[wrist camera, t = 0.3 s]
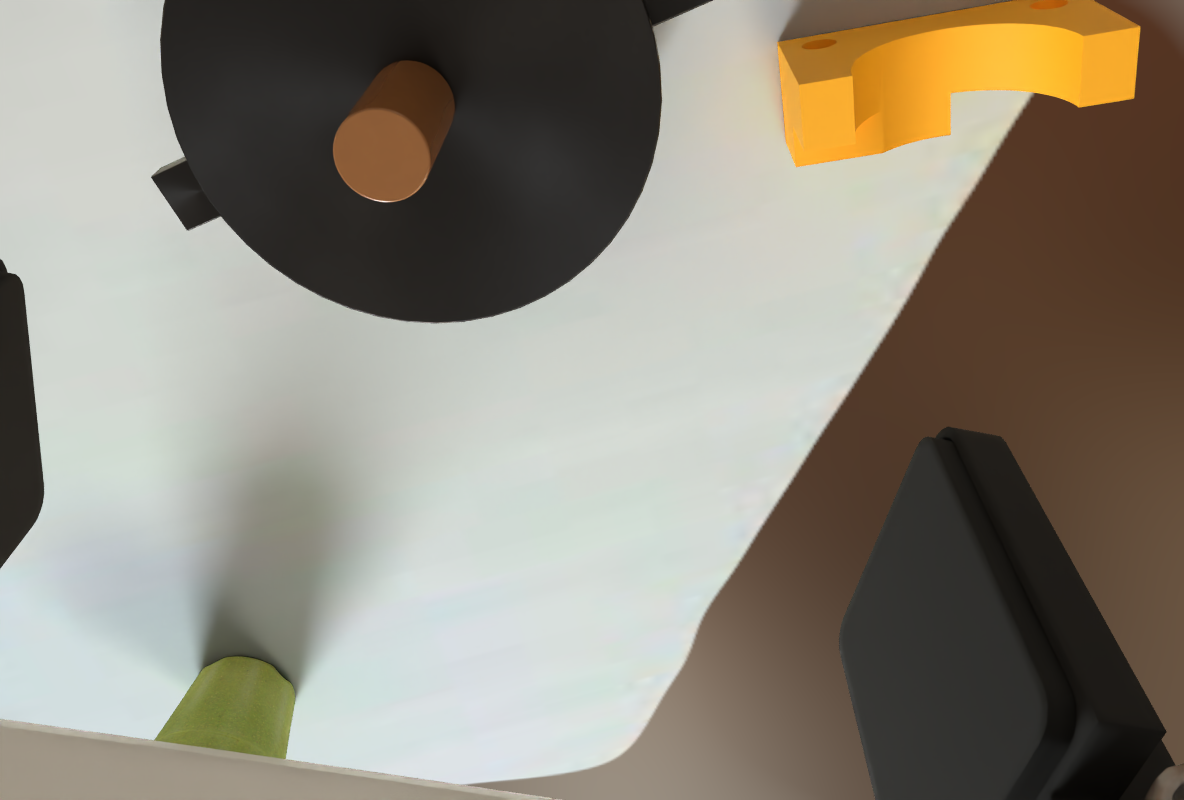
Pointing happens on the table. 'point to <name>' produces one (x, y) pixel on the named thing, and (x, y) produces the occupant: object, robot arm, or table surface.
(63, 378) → the table surface
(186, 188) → the pot
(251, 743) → the plant pot
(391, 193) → the lid
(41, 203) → the table surface
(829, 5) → the table surface
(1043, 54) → the orange stepped block
